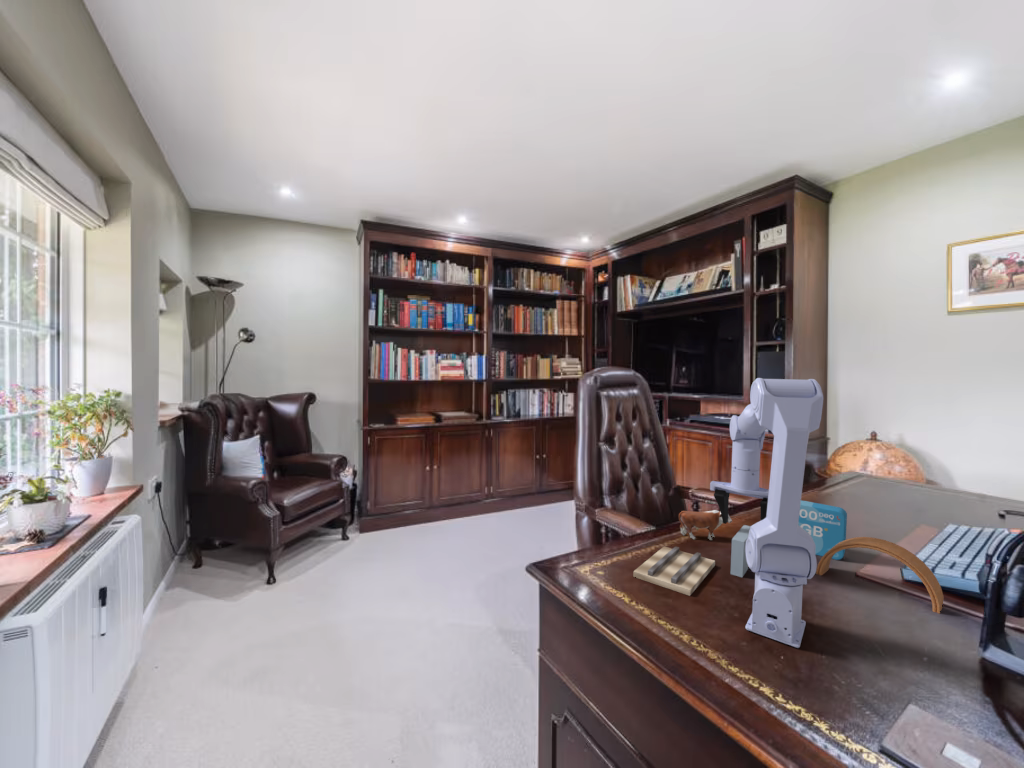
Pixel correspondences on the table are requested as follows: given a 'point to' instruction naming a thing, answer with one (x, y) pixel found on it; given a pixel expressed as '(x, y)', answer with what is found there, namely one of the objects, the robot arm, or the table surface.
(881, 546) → the arch
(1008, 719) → the table surface
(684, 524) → the bull figurine
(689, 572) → the track board
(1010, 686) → the table surface
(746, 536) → the grey rectangular block
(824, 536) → the data package
